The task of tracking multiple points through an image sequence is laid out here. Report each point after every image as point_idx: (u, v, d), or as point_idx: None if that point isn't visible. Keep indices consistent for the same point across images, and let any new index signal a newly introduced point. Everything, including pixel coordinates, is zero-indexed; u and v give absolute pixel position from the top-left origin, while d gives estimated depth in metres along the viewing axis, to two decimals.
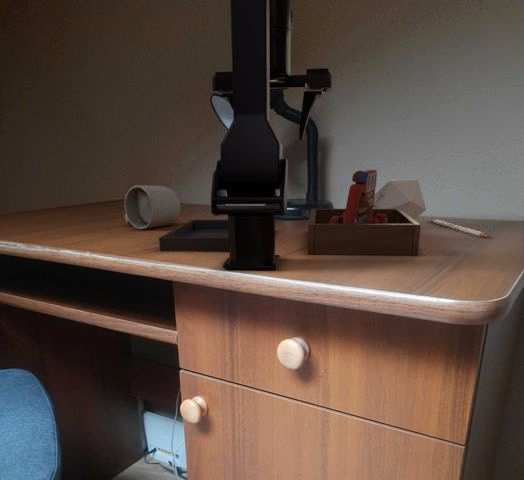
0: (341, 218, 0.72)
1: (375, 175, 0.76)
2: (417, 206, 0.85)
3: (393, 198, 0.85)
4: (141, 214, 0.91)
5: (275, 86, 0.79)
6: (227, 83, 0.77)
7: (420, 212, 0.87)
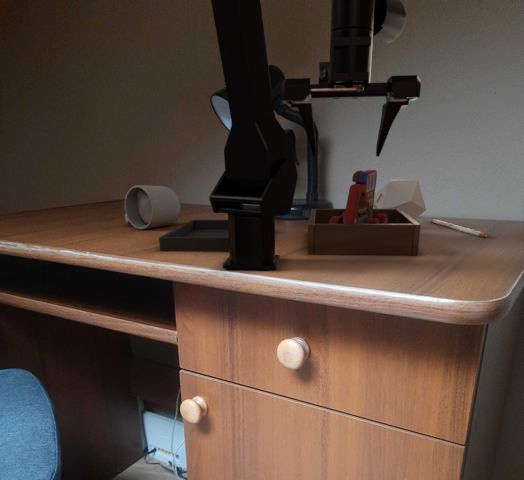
0: (341, 218, 0.72)
1: (375, 175, 0.76)
2: (417, 206, 0.85)
3: (393, 198, 0.85)
4: (141, 214, 0.91)
5: (352, 95, 0.69)
6: (299, 91, 0.67)
7: (420, 212, 0.87)
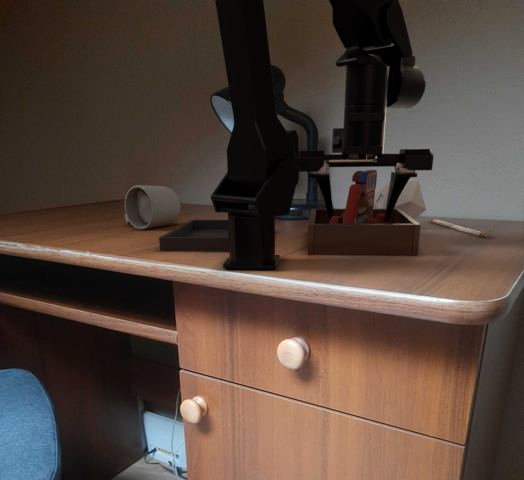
0: (341, 218, 0.72)
1: (375, 175, 0.76)
2: (417, 206, 0.85)
3: None
4: (141, 214, 0.91)
5: (365, 165, 0.70)
6: (313, 164, 0.69)
7: (420, 212, 0.87)
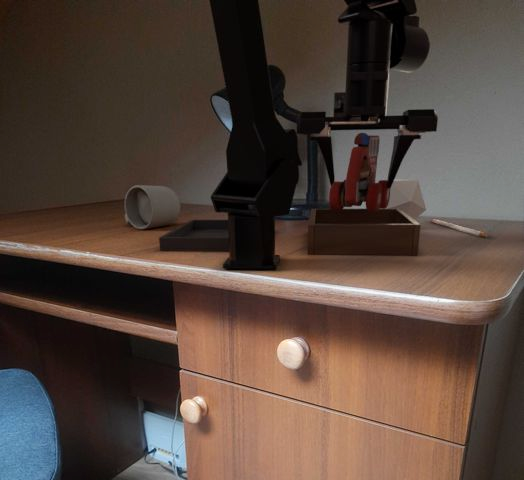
0: (343, 183, 0.70)
1: (378, 141, 0.74)
2: (417, 206, 0.85)
3: (393, 198, 0.85)
4: (141, 214, 0.91)
5: (368, 128, 0.69)
6: (315, 125, 0.67)
7: (420, 212, 0.87)
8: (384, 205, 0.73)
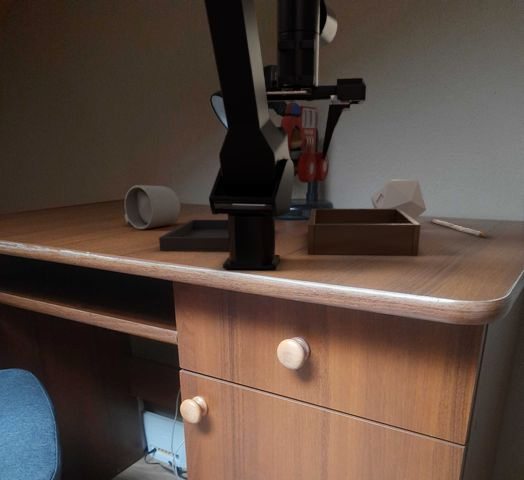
0: None
1: (316, 113, 0.74)
2: (417, 206, 0.85)
3: (393, 198, 0.85)
4: (141, 214, 0.91)
5: (300, 98, 0.69)
6: None
7: (420, 212, 0.87)
8: (320, 177, 0.73)
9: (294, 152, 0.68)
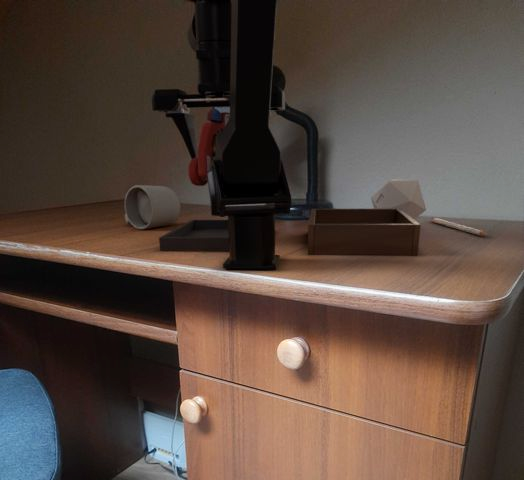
0: None
1: None
2: (417, 206, 0.85)
3: (393, 198, 0.85)
4: (141, 214, 0.91)
5: (222, 105, 0.71)
6: (167, 102, 0.70)
7: (420, 212, 0.87)
8: None
9: None
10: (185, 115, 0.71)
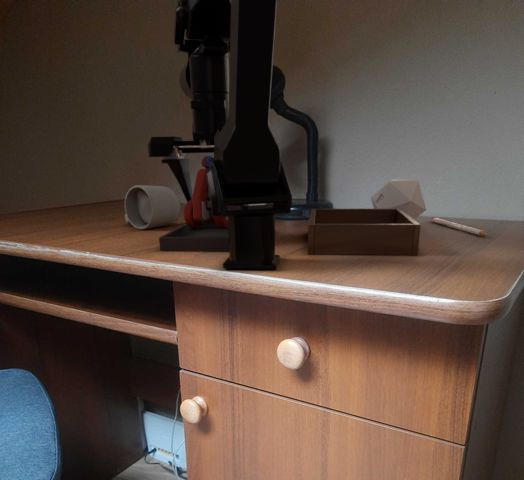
0: None
1: None
2: (417, 206, 0.85)
3: (393, 198, 0.85)
4: (141, 214, 0.91)
5: None
6: (163, 149, 0.72)
7: (420, 212, 0.87)
8: None
9: None
10: (180, 161, 0.73)
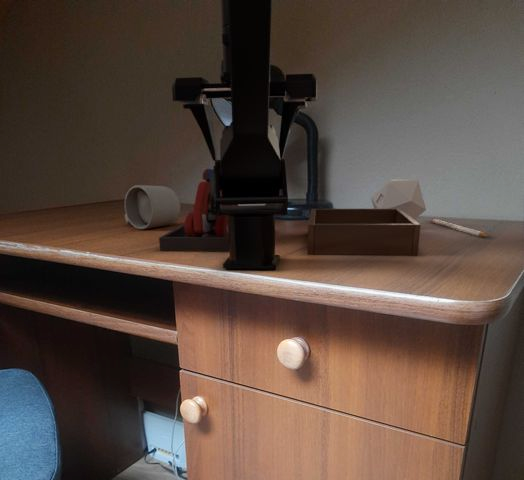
0: None
1: None
2: (417, 206, 0.85)
3: (393, 198, 0.85)
4: (141, 214, 0.91)
5: None
6: (190, 92, 0.63)
7: (420, 212, 0.87)
8: None
9: None
10: (205, 106, 0.64)
